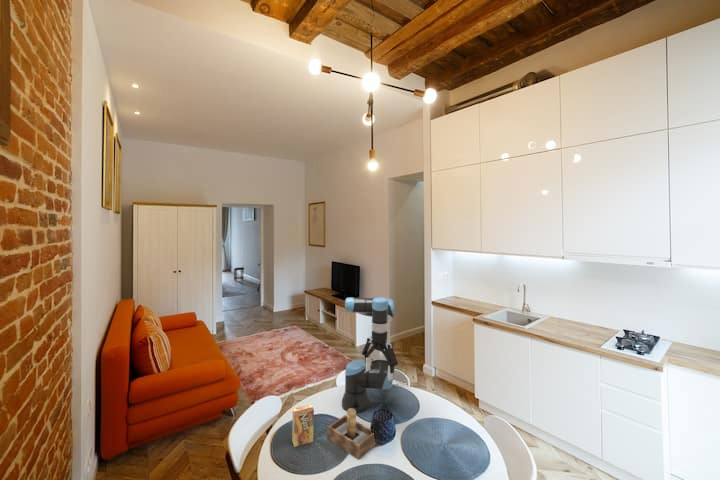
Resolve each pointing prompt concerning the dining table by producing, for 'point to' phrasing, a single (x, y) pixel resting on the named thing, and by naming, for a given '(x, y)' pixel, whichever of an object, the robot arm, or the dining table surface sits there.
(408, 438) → the dining table surface
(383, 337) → the robot arm
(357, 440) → the crate
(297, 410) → the candy box
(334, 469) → the dining table surface
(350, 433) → the peg
